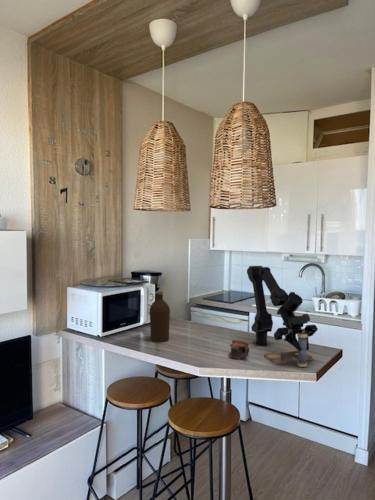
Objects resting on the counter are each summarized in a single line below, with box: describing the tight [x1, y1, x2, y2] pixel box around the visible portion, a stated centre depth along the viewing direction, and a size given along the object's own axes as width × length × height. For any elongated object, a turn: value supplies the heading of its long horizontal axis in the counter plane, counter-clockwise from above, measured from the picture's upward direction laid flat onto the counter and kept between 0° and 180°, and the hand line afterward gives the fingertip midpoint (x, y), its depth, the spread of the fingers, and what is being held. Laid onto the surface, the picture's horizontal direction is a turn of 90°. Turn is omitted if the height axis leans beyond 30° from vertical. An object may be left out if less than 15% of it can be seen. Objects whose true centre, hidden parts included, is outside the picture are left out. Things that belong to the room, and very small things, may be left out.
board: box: [263, 349, 313, 365], centre depth 162 cm, size 10×18×4 cm, turn 109°
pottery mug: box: [228, 339, 250, 361], centre depth 164 cm, size 12×10×8 cm
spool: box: [296, 333, 309, 368], centre depth 152 cm, size 4×4×13 cm
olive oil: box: [148, 291, 171, 343], centre depth 191 cm, size 11×11×25 cm
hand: (304, 350), depth 151 cm, fingers closed on spool, 3 cm apart
